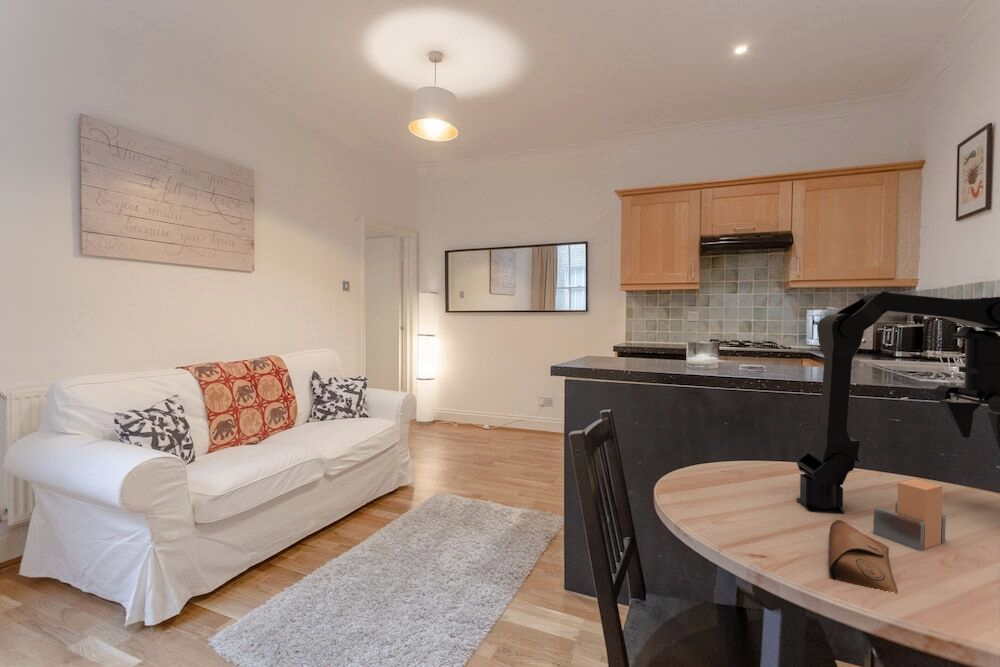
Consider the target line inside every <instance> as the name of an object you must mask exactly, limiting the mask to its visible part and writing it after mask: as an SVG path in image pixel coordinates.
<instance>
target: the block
mask: <svg viewBox="0 0 1000 667" xmlns="http://www.w3.org/2000/svg"><path fill="white" fill-rule="evenodd" d="M897 501H898V513H899V514H902V515H905V516H908V517H911V518H915V519H918V520H921V521H924V522H925V524H924V550H927V549H929V548H933V547H935V546H938V545H941V544H942V543H941V524H942V514H943V485H940V484H938V483H937V484H936V483H934V482H933V483H932V482H929V481H925V480H920V479H917V478H912V479H908V480H904V481H899V482H898V483H897Z"/></svg>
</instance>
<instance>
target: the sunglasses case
mask: <svg viewBox="0 0 1000 667" xmlns="http://www.w3.org/2000/svg"><path fill="white" fill-rule="evenodd" d="M828 536H829V537H828V538H829V539H828V541H829V542H828V571H829V575H830V576H831V577H832V579H833V580H834V581H839V582H843V583H847V584H851V585H856V586H859V585H860V587H863V586H864V587H863V588H868V587H869V588H868V589H872V588H874V589H873V590H876V589H880V590H879V591H881V590H883V591H882V592H886V591H888V592H887V593H891V592H894V593H895V594H894V593H893V594H894V595H897V593H898V592H899V591H898V588H897V585H896V582H895V579H894V576H893V572H892V569H891V562H890V557H889V549H890V547H889V546H887V545H886V544H884V543H883V542H881V541H879V540H876V539H875V538H872V537H870V536H868V535H866V534H864V533H862V532H861V531H860V530H858V528H857V529H856V528H855V527H854V526H852V525H851V524H849V523H848V522H845V521H844V520H841V519H837V520H835V521H833V522H832V523H831V525H830V527H829V535H828ZM889 591H890V592H889Z"/></svg>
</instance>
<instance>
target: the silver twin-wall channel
mask: <svg viewBox="0 0 1000 667" xmlns="http://www.w3.org/2000/svg"><path fill="white" fill-rule="evenodd" d="M894 503H895V504H894V505H895V506H894V507H895V508H894V509H895V510H894V511H892V510H888V509H885V508H882V507H880V506H876V507H875V506H874V507H873V532H872V534H873V535H875V536H877V537H881V538H884V539H886V540H889V541H892V542H895V543H897V544H900V545H903V546H905V547H909V548H911V549H914V550H917V551H919V552H922V551H924V550H925V549H924V524H925V522H924V521H921V520H918V519H915V518H911V517H908V516H905V515H902V514H899V513H898V500H897V501H894ZM946 518H947V515H946V514H944V513H942V524H941V544H945V543H946V524H947V523H946V522H947V520H946Z"/></svg>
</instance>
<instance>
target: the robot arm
mask: <svg viewBox="0 0 1000 667" xmlns="http://www.w3.org/2000/svg"><path fill="white" fill-rule="evenodd" d="M886 313H891V314H892V313H893V314H903V315H911V316H920V317H922V316H923V317H932V318H940V319H944V320H948V321H951V322H953V323H955V324H956V323H957V324H960V325H962V326H963V327H962V328H960V329H959V330H958V331H956V332H955V333H953V334H952V335H951V338H952V339H957V340H961V339H962V340H965V343H964V344H965V346H964V347H965V349H964V366H958V372H959V373H960V372H961V373H964V383H963V384H964V385H961V384H960V385H957V384H956V385H955V384H939V385H938V386H937V387H936V388H934V399H939V401H938V402H939V403H940V404H941V405H942V406H943V408H944V409H945V411H946V412H947V414H948V416H949V417H950V418H951V420H952V422H953V424H954V425H955V427H956V430H957V431H958V433H959V434H960V436H961V437H962V438H964V439H968V438H970V436H971V433H972V426H973V419H974V414H975V411H976V410H977V409H978V408H980V406H981V405H982V404H984V405H988V408H989V409H990V411H987V415H988V416H987V417H988V420H989V423H990V425H991V428H992V432H993V435H994V438H995V442H996V444H997V447H998V449H999V450H1000V335H999V334H998V333H1000V296H989V297H970V298H969V297H968V298H946V297H936V296H935V297H934V296H925V295H916V294H914V295H913V294H903V293H893V292H889V291H887V290H886V291H885V290H883V291H882V290H881V291H872V292H869V293H866V294H865V295H864V296H863V297H861V298H860V299H859V300H856V301H855V302H853V303H851V304H849V305H847V306H846V307H843V308H842V309H840V310H839V311H837V312H836V313H832V314H828V315H824V316H823V317H822V318H821V319H819V321H818V324H817V327H816V328H817V336H818V343H819V347H820V349H821V352H822V354H823V358H824V361H823V373H822V374H823V376H822V391H821V402H820V404H821V405H820V417H819V418H820V421H819V425H818V428H816V431H815V432H814V434H813V436H812V439H811V441H810V442H811V443H810V446H809V450H808V451H807V452H806V453H805V454H803V456H801V457H800V458H798V459H797V460H796V464H797V467H798V470H799V471H800V472H802V473H800V474H799V476H800V477H799V480H800V481H799V497H796V502H798V503H799V504H800V505H801V506H802V507H803V508H805V509H806V510H807V511H808V512H812V513H827V514H839V515H844V514H845V511H844V510H843V509H842V508H843V507H844V488H843V487H842V485H844V482H845V481H846V478H847V476H848V473H850V472H851V471H853V470H854V468H855V465H856V463H859V462H860V459H859V456H858V455H859V449H860V441H859V440H857V439H855V438H853V437H851V436H850V434H849V430H848V426H849V424H848V423H849V409H850V396H851V381H852V368H853V365H852V364H853V359H854V357H855V355H856V354H857V352H858V350H859V349H860V347H861V345H862V341H863V337H864V334H865V331H866V330H867V329H868V328H870V327H871V326H873V325H874V324H876V322H878V321H879V319H880V318H881V317H882V316H883V315H885V314H886ZM975 328H979V329H981V330H979V329H978V330H976V329H975Z"/></svg>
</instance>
